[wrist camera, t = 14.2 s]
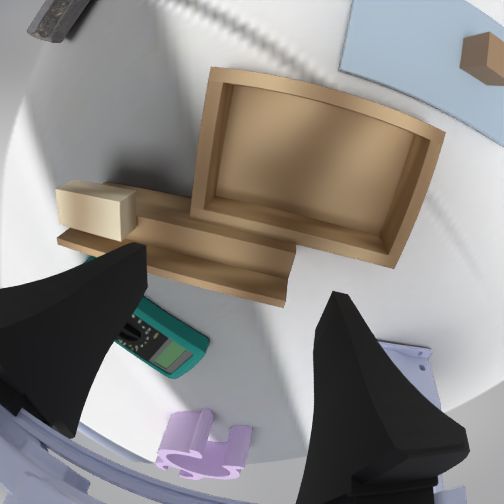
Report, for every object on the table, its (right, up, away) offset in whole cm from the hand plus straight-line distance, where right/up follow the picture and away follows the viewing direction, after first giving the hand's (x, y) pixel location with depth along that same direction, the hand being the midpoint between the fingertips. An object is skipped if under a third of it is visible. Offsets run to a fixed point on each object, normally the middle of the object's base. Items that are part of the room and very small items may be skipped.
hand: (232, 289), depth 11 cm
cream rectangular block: (-8, +4, +5) cm, 11 cm away
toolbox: (0, +7, +7) cm, 10 cm away
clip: (-7, -28, +29) cm, 41 cm away
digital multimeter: (-11, -5, +17) cm, 21 cm away
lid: (+13, +15, +1) cm, 20 cm away
